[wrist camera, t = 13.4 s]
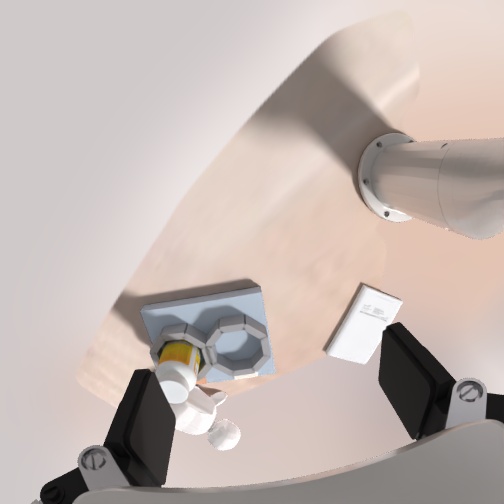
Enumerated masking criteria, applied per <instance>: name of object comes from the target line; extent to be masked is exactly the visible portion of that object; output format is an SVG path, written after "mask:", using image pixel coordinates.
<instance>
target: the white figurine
mask: <svg viewBox="0 0 504 504" xmlns="http://www.w3.org/2000/svg"><path fill="white" fill-rule="evenodd" d="M227 396H228V394H227V393H225V392H223V391H221V392H218V393H215V394H214V395H212V396H210V397H209V396H208V395H207V394H206V393H204V392H203V391H202V390H201V389H200V388H199V387H197V386H194V388H193V389H192V390H191V391H189V394H188V398H187V399H186V400H185V401H184V402H182V403H177V404H173V403H169V404H170V406H171V408H172V410H173V412H174V414H175V417H176V425H175V429H177V430H180V431H182V432H184V433H190V434H193V435H198V434H202V433H205V432H207V431H209V436H208V441H209V442H210V444H211V445H212V446H213V447H214V448H216V449H217V450H221V451H222V450H228V449H231V448H233V447H234V446H235V445H236V444H237V442H238V441H239V439H240V436H241V434H240V429H239V427H238V426H236V425H235V424H233V423H232V422H230V421H229V420H228V419H226V418H225V419H223V420H221V421H219V422H217V423H215V419H216V412H217V411H216V406H218V405H219V404H221V403H223V402H224V400H225V399H226V397H227Z"/></svg>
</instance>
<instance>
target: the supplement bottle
mask: <svg viewBox="0 0 504 504" xmlns="http://www.w3.org/2000/svg"><path fill="white" fill-rule="evenodd" d="M200 357H201V349H200V348H199V347H197V346H195V345H194V344H192V343H190V342H188V341H186V340H185V339H180V340H171V341H167V342H166V344H165V346H164V349H163V352H162V354H161V357H160V360H159V363H158V365H157V368H156V372H155V374H156V377H157V379H158V381H159V383H160V385H161V388H162V390H163V392H164V394H165V396H166V398H167V400H168V402H169V403H173V404H177V403H182V402H184V401H185V400H186V399H187V398H188V394H189V391H191V390H192V389H193V388H194V386H195V385H196V381H197V375H198V369H199V363H200Z"/></svg>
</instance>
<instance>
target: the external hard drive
mask: <svg viewBox="0 0 504 504" xmlns="http://www.w3.org/2000/svg"><path fill="white" fill-rule="evenodd" d="M402 303H403V301H402V300H401V299H399V298H397V297H394V296H392V295H390V294H387V293H385V292H382V291H378V290H375V289H373V288H371V287H368V286H366V285H363V286H362V288H361V290H360V292H359V293H358V295H357V297H356V299H355V301H354V303H353V304H352V306H351V308H350V310H349V312H348V313H347V315H346V317H345V319H344V321H343V322H342V324H341V326H340V328H339V329H338V331H337V333H336V334H335V336H334V338H333V340H332V341H331V343H330V345H329V346H328V348H327V350H326V351H325V352H326V354H327V355H329V356H333V357H336V358H340V359H344V360H349V361H352V362H356V363H361V364H366V363H367V361H368V359H369V358H370V357H371V355H372V353H373V352H374V350H375V349H376V347H377V346H378V344H379V342H380V341H381V339H382V332H383V330H385V329H386V326H387V325H390V324H391V322H392V321H393V319H394V317H395V315H396V313H397V312H398V310H399V308H400V306H401V304H402Z"/></svg>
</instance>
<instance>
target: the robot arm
mask: <svg viewBox="0 0 504 504" xmlns="http://www.w3.org/2000/svg"><path fill="white" fill-rule="evenodd" d="M376 144H378V146H377V145H376ZM363 180H365V182H364V183H363ZM358 184H359V188H360V192H361V195H362V197H363V199H364V201H365V203H366V204H367V206H368V207H369V208H370V210H371V211H372V212H373V213H374V214H376V215H377V216H379V217H380V218H383V219H385V220H388V221H391V222H405V221H408V220H410V219H413V218H416V219H419V220H422V221H425V222H427V223H430V224H433V225H436V226H439V227H441V228H444V229H447V230H449V231H452V232H455V233H457V234H460V235H463V236H466V237H468V238H472V239H478V240H482V239H488V238H491V237H493V236H495V235H497V234H499V233H500V232H502V231H503V230H504V138H494V139H473V140H472V139H471V140H470V139H469V140H443V141H426V142H417V141H415V140H414V139H413V138H411V137H409V136H407V135H404V134H400V133H390V134H385V135H381V136H379V137H378V138H376V139H374V140H373V141H372V142H371V143H370V144H369V145H368V146H367V148H366V149H365V150H364V152H363V154H362V156H361V159H360V163H359V167H358ZM384 213H385V214H384ZM378 379H379V384H380V386H381V388H382V390H383V391H384V393H385V395H386V396H387V398H388V400H389V401H390V403H391V404H392V406H393V408H394V409H395V411H396V413H397V415H398V416H399V418H400V420H401V421H402V423H403V425H404V427H405V428H406V430H407V432H408V434H409V435H410V437H411V438H412V439H416V440H417V441H416V442H414V443H411V444H409V445H406V446H404V447H401V448H399V449H396V450H393V451H390V452H388V453H385V454H382V455H380V456H377V457H374V458H371V459H368V460H365V461H362V462H358V463H355V464H352V465H348V466H345V467H341V468H337V469H333V470H329V471H325V472H321V473H317V474H312V475H308V476H303V477H298V478H293V479H287V480H281V481H275V482H268V483H260V484H251V485H241V486H229V487H211V488H162V487H161V485H164V484H165V482H166V476H167V470H168V464H169V458H170V452H171V447H172V441H173V436H174V430H175V425H176V417H175V414H174V412H173V410H172V408H171V406H170V404H169V402H168V400H167V398H166V396H165V394H164V392H163V390H162V388H161V385H160V383H159V381H158V379H157V377H156V374H155V373H154V372H151V371H150V370H149V369H137V370H135V371H134V373H133V375H132V378H131V380H130V382H129V385H128V387H127V390H126V392H125V394H124V397H123V399H122V401H121V402H120V404H119V406H118V409H117V412H116V414H115V416H114V419H113V421H112V424H111V426H110V429H109V432H108V434H107V437H106V439H105V442H104V444H103V446H100V445H93V446H90V447H88V448H86V449H84V450H83V451H82V452H81V454H80V455H79V457H78V466H79V467H77V468H76V469H74V470H72V471H70V472H68V473H66V474H64V475H62V476H60V477H58V478H56V479H54V480H52V481H50V482H48V483H47V484H45V485H44V486H43V488H42V489H41V492H40V498H41V500H40V501H38V500H35V501H34V502H32V503H31V504H504V395H499V394H491V393H487V390H486V387H485V385H484V384H483V383H482V382H481V381H479V380H477V379H474V378H465V379H461V380H459V381H458V382H456V381H455V379H454V378H453V377H452V376H451V375H450V374H449V373H448V372H447V370H446V369H445V368H444V367H443V366H442V365H441V364H440V363H439V362H438V360H436V358H435V357H434V356H433V355H432V354H431V353H430V352H429V351H428V350H427V349H426V348H425V347H424V346H422V345H421V344H420V343H419V341H418V340H417V339H416V338H415V337H414V336H413V335H412V334H411V333H410V332H409V331H408V330H407V329H406V328H405V327H404V326H403V325H402V324H401V323H400V322H397V323H394V324H391V325H387V326H386V329H385V330H383V332H382V344H381V357H380V368H379V378H378Z"/></svg>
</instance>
